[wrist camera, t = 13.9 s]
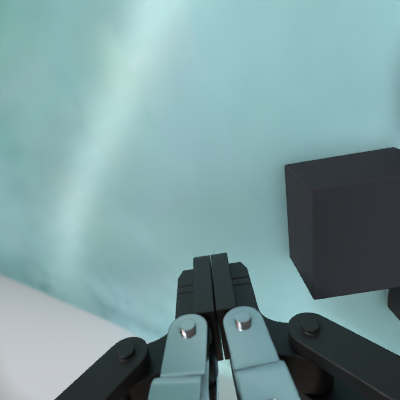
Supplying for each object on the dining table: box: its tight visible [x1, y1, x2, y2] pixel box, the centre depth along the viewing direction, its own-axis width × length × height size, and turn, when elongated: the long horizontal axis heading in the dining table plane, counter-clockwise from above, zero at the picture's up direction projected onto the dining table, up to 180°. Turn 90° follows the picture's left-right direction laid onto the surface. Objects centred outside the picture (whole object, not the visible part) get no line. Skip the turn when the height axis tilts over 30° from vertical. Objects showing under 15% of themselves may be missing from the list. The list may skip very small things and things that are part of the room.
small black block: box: [285, 147, 400, 300], centre depth 16 cm, size 6×6×4 cm
